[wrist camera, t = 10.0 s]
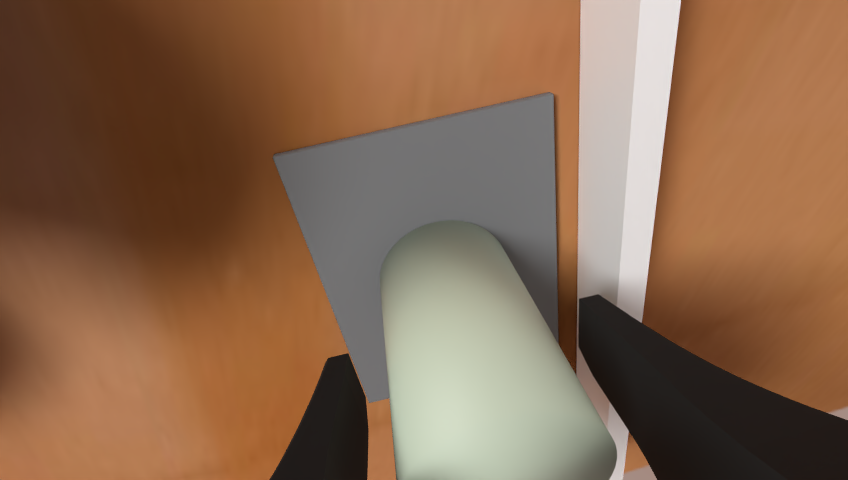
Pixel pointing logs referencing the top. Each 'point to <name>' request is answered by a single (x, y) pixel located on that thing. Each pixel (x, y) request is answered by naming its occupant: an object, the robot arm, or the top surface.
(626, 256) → the low wall
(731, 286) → the top surface
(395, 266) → the green cylinder
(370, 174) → the mat
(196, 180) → the top surface
